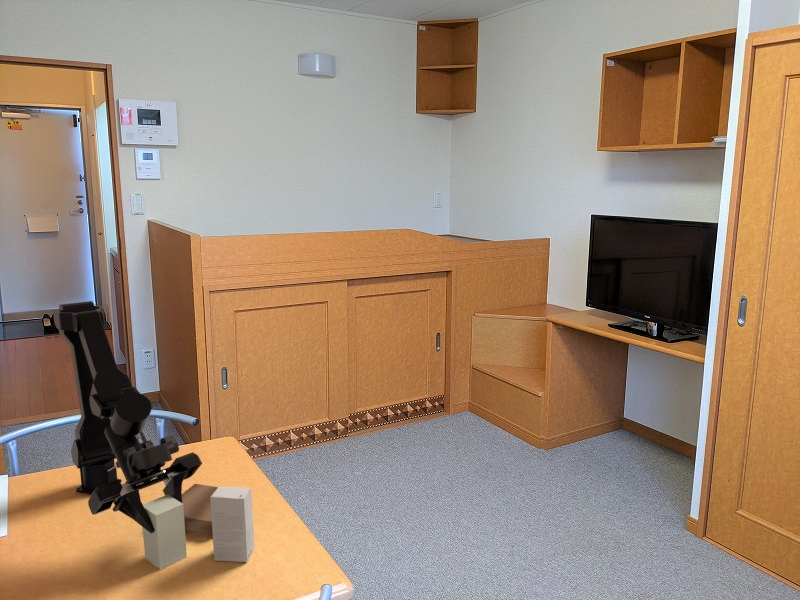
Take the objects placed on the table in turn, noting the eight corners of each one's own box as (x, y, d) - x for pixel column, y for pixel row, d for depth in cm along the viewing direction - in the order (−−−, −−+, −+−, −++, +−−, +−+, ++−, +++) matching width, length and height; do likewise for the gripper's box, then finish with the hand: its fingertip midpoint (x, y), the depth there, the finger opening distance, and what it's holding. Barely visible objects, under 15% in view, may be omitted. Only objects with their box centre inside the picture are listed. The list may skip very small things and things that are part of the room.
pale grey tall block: (145, 558, 114) (140, 505, 112) (171, 546, 118) (167, 494, 116) (160, 569, 111) (156, 515, 109) (186, 556, 114) (183, 504, 112)
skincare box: (255, 549, 117) (252, 486, 114) (247, 563, 113) (244, 499, 110) (222, 547, 117) (218, 485, 115) (213, 561, 113) (209, 497, 111)
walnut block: (160, 529, 124) (158, 512, 123) (195, 499, 135) (194, 483, 134) (216, 539, 120) (215, 522, 120) (248, 507, 132) (248, 491, 131)
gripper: (89, 441, 105) (128, 529, 100) (193, 410, 119) (232, 485, 114) (72, 472, 112) (108, 556, 107) (172, 439, 126) (208, 511, 121)
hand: (167, 525), depth 112 cm, fingers closed on pale grey tall block, 5 cm apart
